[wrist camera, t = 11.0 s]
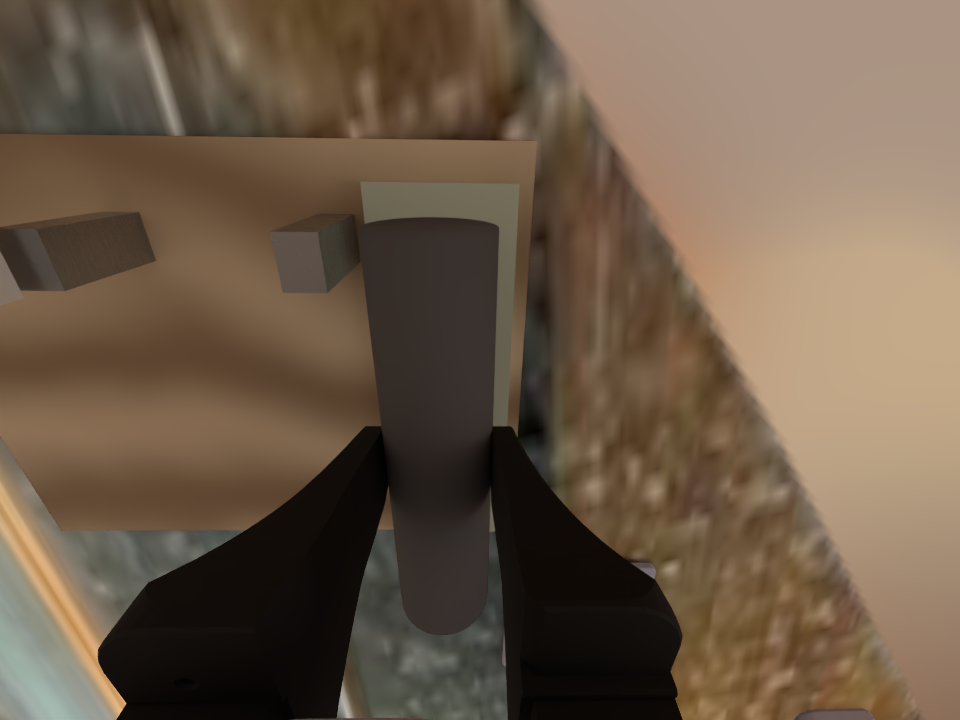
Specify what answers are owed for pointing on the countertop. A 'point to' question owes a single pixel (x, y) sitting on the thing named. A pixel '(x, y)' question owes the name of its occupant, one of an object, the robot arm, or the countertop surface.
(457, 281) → the dark grey rod
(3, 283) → the beige l-shaped block
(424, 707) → the countertop surface
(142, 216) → the board
